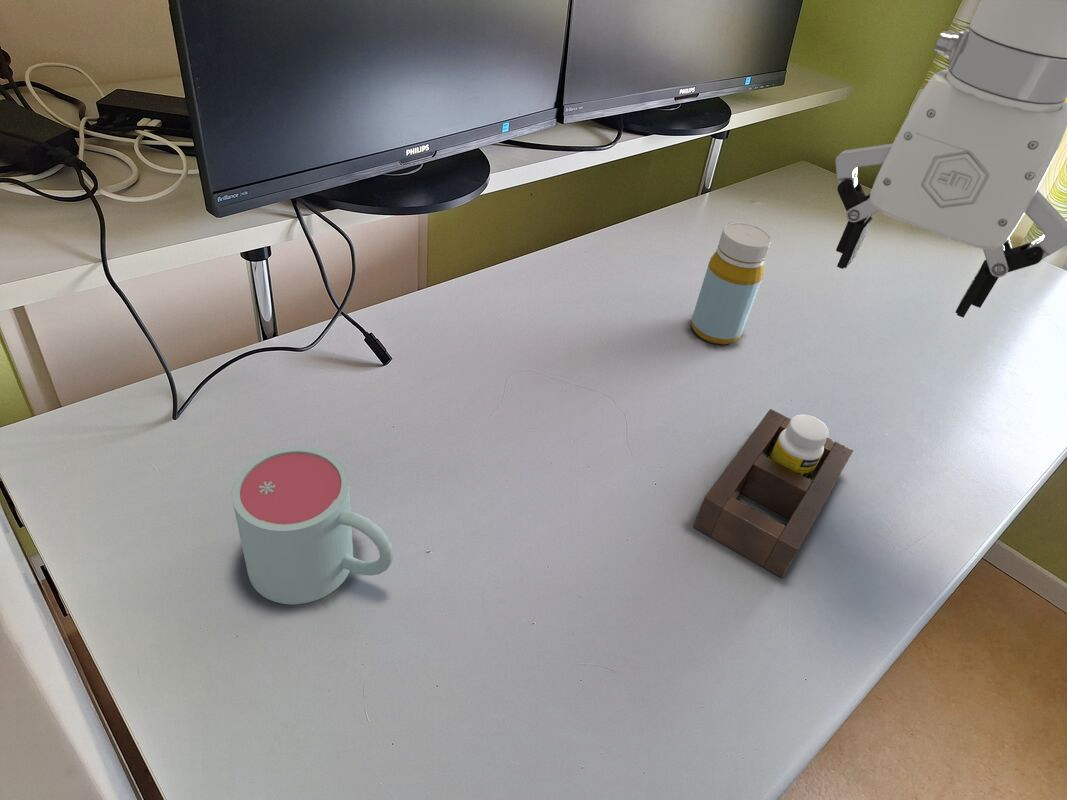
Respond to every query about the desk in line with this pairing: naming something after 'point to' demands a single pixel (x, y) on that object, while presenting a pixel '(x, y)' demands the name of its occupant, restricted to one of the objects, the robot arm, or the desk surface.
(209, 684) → the desk surface
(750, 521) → the holder
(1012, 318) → the desk surface
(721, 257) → the bottle
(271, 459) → the mug
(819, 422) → the supplement bottle
